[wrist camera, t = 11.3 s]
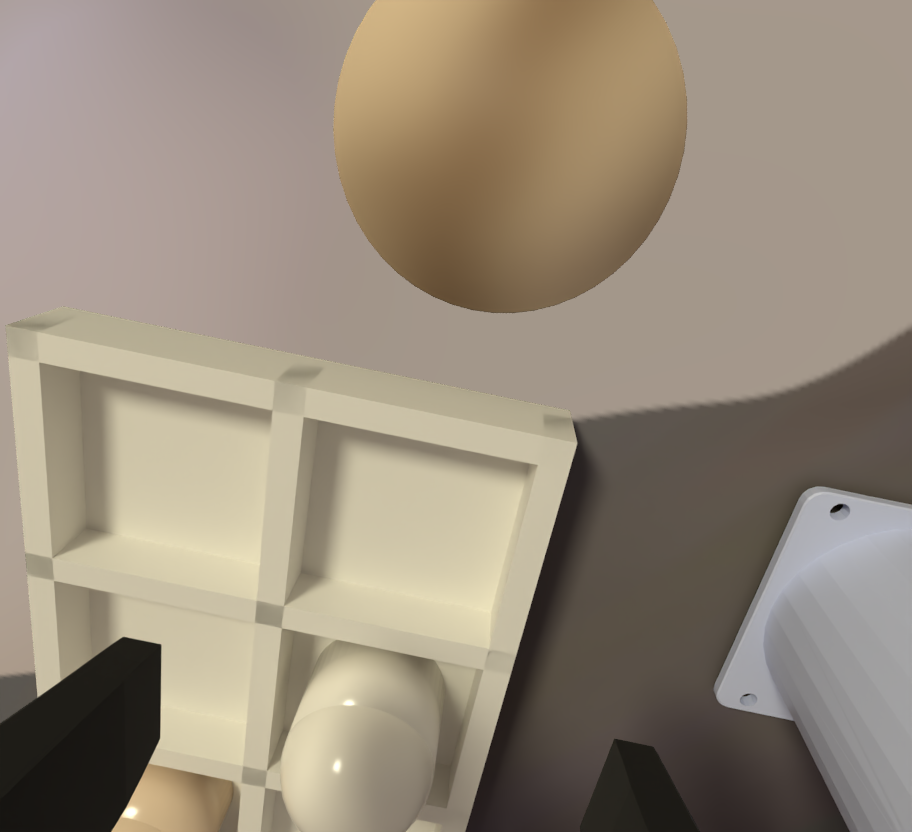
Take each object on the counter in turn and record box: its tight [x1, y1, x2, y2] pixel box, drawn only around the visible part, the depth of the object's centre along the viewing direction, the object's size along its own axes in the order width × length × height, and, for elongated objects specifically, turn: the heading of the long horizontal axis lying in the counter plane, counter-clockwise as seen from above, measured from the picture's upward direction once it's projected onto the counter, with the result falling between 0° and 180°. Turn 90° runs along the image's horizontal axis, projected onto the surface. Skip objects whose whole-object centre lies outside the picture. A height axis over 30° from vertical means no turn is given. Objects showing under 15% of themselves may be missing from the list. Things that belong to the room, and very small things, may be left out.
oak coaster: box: [333, 0, 687, 313], centre depth 15 cm, size 8×8×1 cm
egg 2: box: [280, 640, 445, 832], centre depth 19 cm, size 4×4×5 cm
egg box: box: [6, 306, 577, 832], centre depth 21 cm, size 14×21×2 cm
